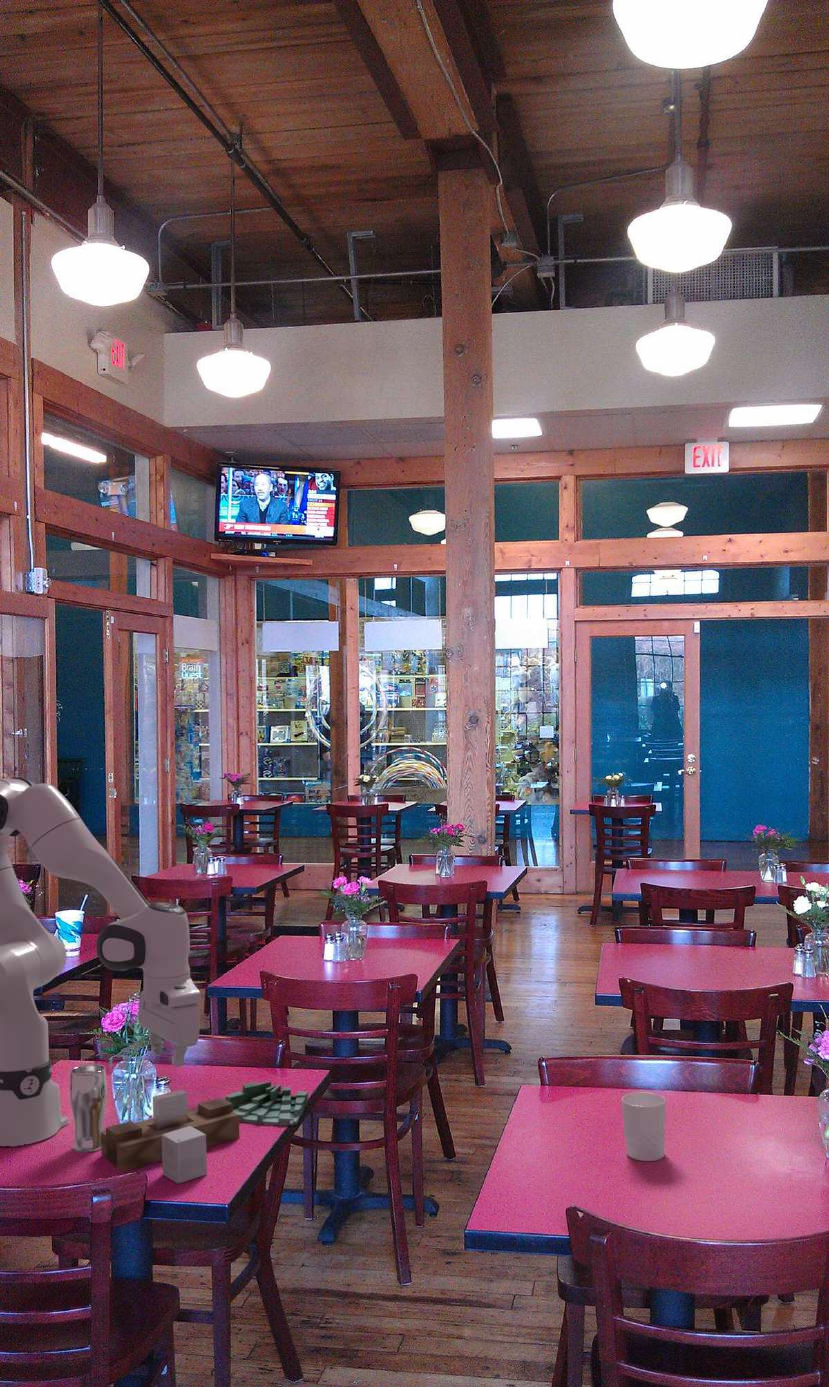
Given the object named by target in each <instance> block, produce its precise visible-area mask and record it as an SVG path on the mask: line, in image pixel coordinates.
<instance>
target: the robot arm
mask: <svg viewBox="0 0 829 1387" xmlns="http://www.w3.org/2000/svg"><path fill="white" fill-rule="evenodd" d="M20 834H21V835H22V836H23V838H24V839H25V841H26V842H27V844H28V846H29V848H30V849H31V851H32V853H33V854H34V856H35V857H36V859H37V860H38V862H39V863H40V864H41V865H42V867H43V868H44V869H45V870H46V871H47V872H48V873H50V874H51V875H52V876H55V877H58V878H61V879H67V880H72V881H77V882H81V883H84V884H86V885H89V886H91V887H93V888H95V889H96V890H97V891H98V892H99V893H100V894H101V896H102V897H103V898H104V899H105V900H106V902H107V904H109V905H110V907H111V908H112V909H113V911H114V912H115V914H116V915H117V916H118V918H119V920H118V919H117V920H116V921H114V922H111V923H109V924H108V925H106V926H104V927H103V928H102V929H101V930H100V931H99V933H98V936H97V937H96V941H95V950H96V956H97V957H98V959H99V961H100V962H101V964H102V965H103V966H104V967H105V968H107V969H108V970H111V971H116V972H118V971H121V972H122V971H123V972H124V971H128V970H133V969H136V968H139V969H141V970H142V971H143V988H142V989H143V990H141V991H140V993H139V997H138V998H139V999H138V1008H137V1009H138V1013H137V1014H138V1015H137V1020H138V1021H137V1022H138V1025H139V1026H140V1027H141V1028H143V1029H145V1030H147V1032H148V1035H147V1036H148V1039H149V1043H150V1046H151V1048H150V1049H151V1050H150V1051H151V1053H152V1054H153V1055H155V1056H158V1055H162V1054H163V1052H164V1050H163V1048H164V1046H163V1044H162V1039H163V1040H165V1041H167V1042H169V1043H171V1044H173V1049H174V1054H173V1056H171V1064H172V1065H173V1066H174V1067H176V1068H180V1067H183V1066H184V1064H185V1055H186V1052H187V1050H188V1048H189V1047H192V1046H193V1047H194V1046H196V1045H197V1043H198V1041H199V1039H200V1023H201V1021H200V1019H201V1018H200V1008H199V1005H198V1004H199V1003H202V1002H201V1001H202V994H201V991H200V990H199V988H198V987H197V986H196V985H195V983H194V982H193V979H192V978H191V967H190V964H189V955H190V954H189V953H190V950H191V939H190V935H191V934H190V924H189V918H188V914H187V912H186V910H185V909H184V908H183V907H182V906H180V905H179V904H176V903H172V902H167V901H166V902H161V901H159V902H151V903H150V902H149V901H148V899H147V898H145V896H144V895H143V893H142V892H141V891H140V890H139V888H138V887H137V885H136V884H135V883H134V881H132V879H131V878H130V877H129V875H128V874H127V872H125V870H124V869H123V868H122V867H121V865H120V864H119V863H118V862H117V860H116V859H114V857H113V856H112V855H111V854H110V853H109V852H108V851H107V850H106V849H105V848H104V847H103V846H102V845H101V844H100V843H99V841H98V840H97V839H96V838H95V837H94V835H93V834H92V832H91V831H90V830H89V828H88V827H87V826H86V824H85V822H84V821H83V819H82V818H81V816H80V815H79V813H78V812H77V810H76V809H75V808H74V806H73V805H72V804H71V803H70V801H69V800H68V799H67V798H66V797H65V796H64V795H63V794H62V792H61V791H60V790H59V789H57V788H56V786H54V785H52V784H50V783H47V782H46V783H36V782H34V781H33V780H30V779H28V778H24V777H18V776H17V777H10V778H5V777H4V778H0V1146H4V1148H6V1147H5V1146H10V1147H17V1146H18V1147H19V1145H20V1146H25V1145H24V1144H26V1145H29V1144H33V1143H34V1144H35V1143H37V1142H41V1141H43V1140H46V1139H49V1138H50V1137H52V1136H54V1135H56V1134H57V1133H58V1132H59V1130H60V1129H61V1128H62V1127H64V1126H67V1125H68V1124H69V1118H68V1116H65V1115H63V1114H62V1109H61V1108H62V1107H61V1106H62V1105H61V1098H60V1097H61V1096H60V1088H59V1087H60V1085H59V1084H58V1083H56V1082H55V1081H53V1080H52V1076H53V1075H52V1072H53V1071H52V1070H53V1065H52V1059H51V1058H50V1055H49V1054H50V1049H49V1048H50V1047H49V1046H50V1045H49V1023H48V1020H47V1019H46V1017H44V1015H43V1014H41V1013H39V1010H38V1008H37V1006H36V1002H35V998H34V990H36V989H38V988H40V987H44V986H45V985H47V984H48V983H50V982H51V981H53V979H54V978H56V977H57V975H59V974H60V973H61V972H62V971H63V969H64V968H65V965H66V961H67V951H66V946H65V945H64V943H63V941H62V940H61V939H60V938H59V937H57V936H56V935H55V934H52V933H50V932H49V931H48V930H47V929H46V928H45V927H44V925H42V923H41V922H40V920H39V919H38V917H37V916H36V915H35V913H34V912H33V911H32V909H31V908H30V906H29V904H28V903H27V900H26V899H25V896H24V893H23V890H22V889H21V885H20V883H19V881H18V878H17V874H16V872H15V870H14V867H13V864H12V862H11V859H10V857H9V853H8V851H7V841H8V838H9V837H18V836H19V835H20Z"/></svg>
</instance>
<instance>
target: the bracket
mask: <svg viewBox="0 0 829 1387" xmlns="http://www.w3.org/2000/svg"><path fill="white" fill-rule="evenodd" d="M187 1109H188V1092H187V1091H186V1090H183V1089H178V1090H174V1091H170V1092H167V1093H166V1092H165V1093H163V1094H157V1095H154V1096H152V1115H153V1117H152V1118H153V1123H154V1130H155V1131H160V1130H164V1129H167V1128H171V1127H175V1126H178V1125H182V1124H186V1123H188V1112H187Z"/></svg>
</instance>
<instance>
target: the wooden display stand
mask: <svg viewBox="0 0 829 1387" xmlns="http://www.w3.org/2000/svg"><path fill="white" fill-rule="evenodd" d="M187 1112H188V1123H186V1124H182V1125H178V1126H175V1127H171V1128H167V1129H164V1130H160V1131H155V1130H154V1123H153V1117H152V1118H149V1119H145V1120H142V1121H141V1120H140V1121H137V1122H134V1121H131V1120H129V1121H125V1122H122V1123H119V1124H114V1125H113V1124H112V1125H110V1126H106V1127H105V1130H104V1131H102V1132H101V1149H100V1150H101V1157H103V1159H105V1160H106V1161H108V1162H109V1163H111V1164H112V1165H113V1166H114V1167H115V1168H117V1169H118V1170H119V1171H120V1172H122V1173H123V1172H126V1171H130V1170H134V1169H136V1168H139V1167H144V1166H147V1165H150V1164H151V1165H152V1164H154V1163H158V1162H162V1134H165V1133H168V1132H172V1131H175V1130H178V1129H181V1128H185V1127H188V1126H191V1127H193V1128H195V1129H197V1130H198V1131H200V1132H202V1133H204V1134H206V1149H207V1148H209V1147H213V1146H216V1145H220V1144H224V1143H227V1142H230V1141H234V1140H237V1139H240V1121H239V1115H238V1114H236V1113H234V1112H233V1104H232V1103H230V1102H228V1101H226V1100H225V1099H224V1098H222V1097H218V1098H214V1099H210V1100H206V1101H202V1102H198V1104H197V1106H195V1107H190V1108H187Z"/></svg>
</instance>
